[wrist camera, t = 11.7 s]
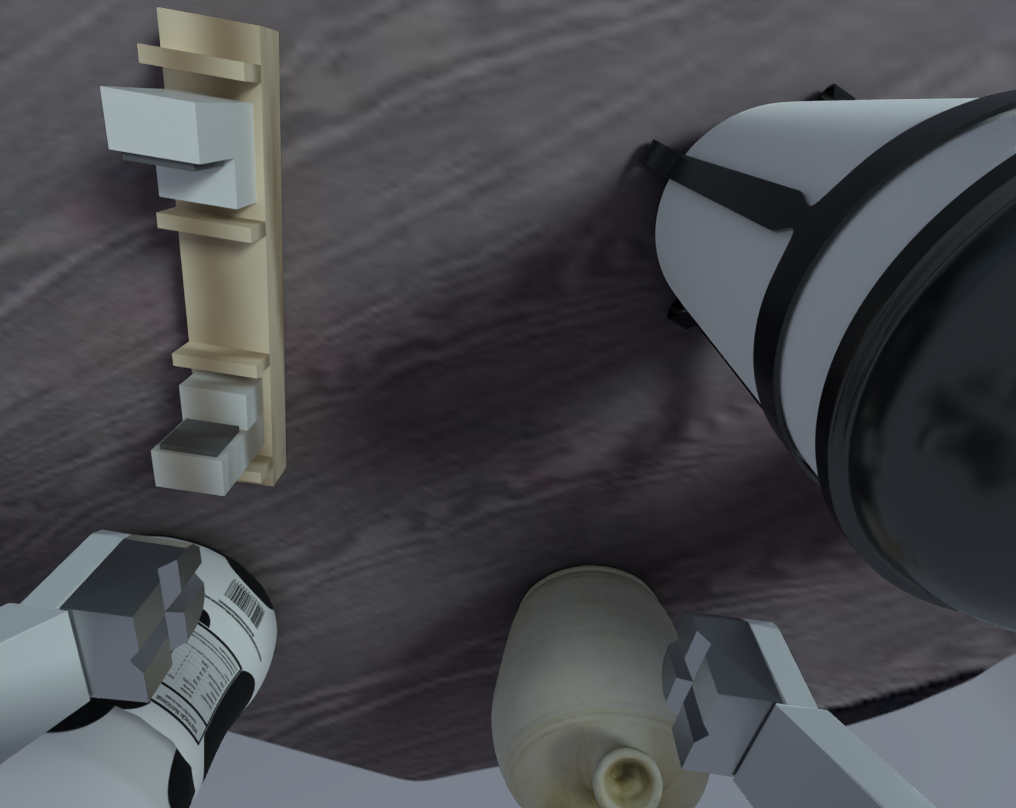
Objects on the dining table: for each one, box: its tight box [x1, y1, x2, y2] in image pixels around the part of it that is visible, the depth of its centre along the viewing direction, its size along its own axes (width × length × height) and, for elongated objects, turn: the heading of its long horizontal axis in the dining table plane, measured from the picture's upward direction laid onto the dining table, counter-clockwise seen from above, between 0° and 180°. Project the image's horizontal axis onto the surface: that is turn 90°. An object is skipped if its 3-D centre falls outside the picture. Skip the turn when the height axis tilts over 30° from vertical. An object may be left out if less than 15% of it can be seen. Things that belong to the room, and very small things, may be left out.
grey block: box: [100, 86, 257, 209], centre depth 29 cm, size 4×5×6 cm
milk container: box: [0, 535, 277, 808], centre depth 42 cm, size 17×17×18 cm
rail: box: [137, 7, 286, 496], centre depth 34 cm, size 5×28×8 cm, turn 171°
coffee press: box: [640, 84, 1016, 631], centre depth 22 cm, size 17×16×30 cm
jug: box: [491, 565, 709, 808], centre depth 39 cm, size 15×16×25 cm
